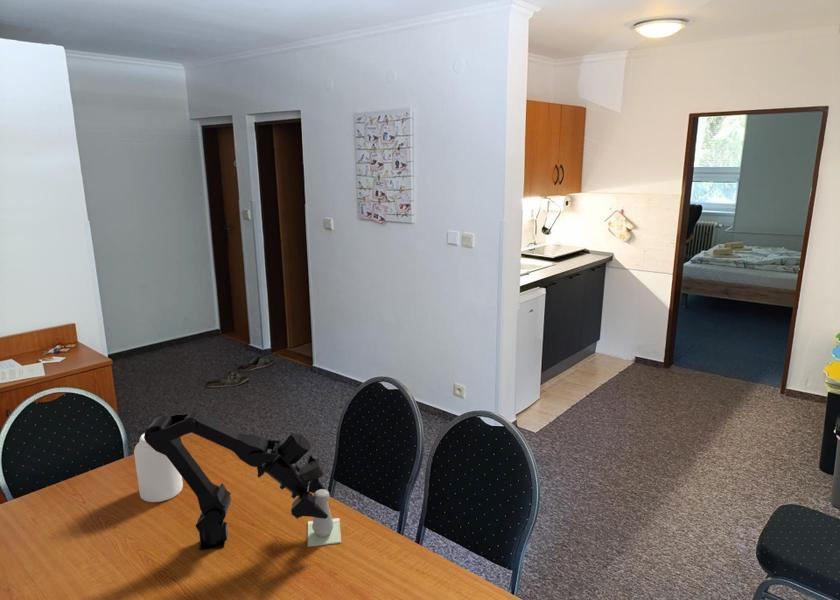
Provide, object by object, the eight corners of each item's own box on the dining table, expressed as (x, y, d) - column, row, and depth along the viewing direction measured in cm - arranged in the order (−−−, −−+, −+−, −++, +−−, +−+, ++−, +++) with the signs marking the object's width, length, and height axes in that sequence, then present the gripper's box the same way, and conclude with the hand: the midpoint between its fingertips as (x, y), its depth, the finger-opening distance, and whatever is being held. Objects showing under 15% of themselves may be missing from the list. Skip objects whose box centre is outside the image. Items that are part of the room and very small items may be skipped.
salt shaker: (332, 539, 158) (330, 498, 154) (311, 540, 157) (309, 498, 154) (334, 526, 163) (332, 485, 160) (314, 526, 163) (312, 486, 160)
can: (191, 488, 183) (185, 431, 178) (155, 508, 173) (147, 448, 168) (167, 477, 189) (160, 421, 184) (131, 495, 179) (123, 437, 174)
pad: (307, 546, 155) (307, 544, 155) (307, 522, 165) (307, 521, 165) (341, 542, 157) (341, 541, 157) (339, 519, 167) (339, 517, 167)
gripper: (301, 471, 145) (347, 507, 149) (308, 436, 163) (349, 469, 167) (271, 501, 146) (317, 536, 150) (282, 463, 164) (322, 495, 168)
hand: (327, 507), depth 158 cm, fingers open, 9 cm apart
